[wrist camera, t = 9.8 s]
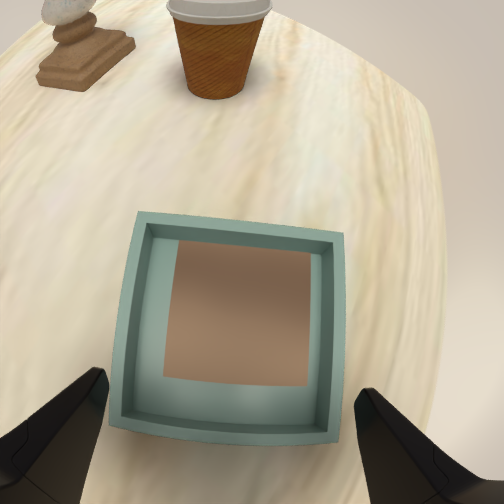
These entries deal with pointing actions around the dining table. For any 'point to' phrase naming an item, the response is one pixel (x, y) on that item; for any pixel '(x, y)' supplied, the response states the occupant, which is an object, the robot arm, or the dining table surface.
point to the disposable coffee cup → (217, 42)
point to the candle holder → (79, 46)
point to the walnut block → (239, 315)
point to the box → (220, 394)
